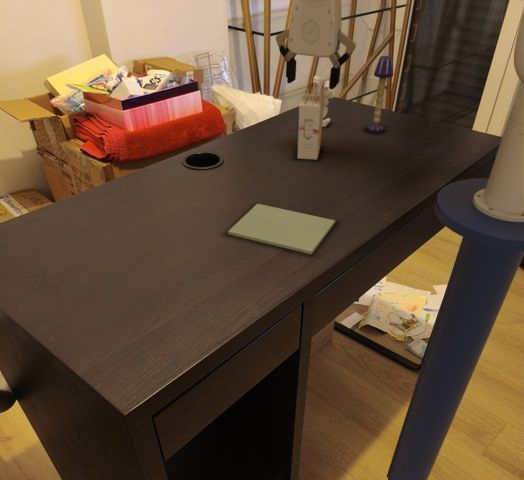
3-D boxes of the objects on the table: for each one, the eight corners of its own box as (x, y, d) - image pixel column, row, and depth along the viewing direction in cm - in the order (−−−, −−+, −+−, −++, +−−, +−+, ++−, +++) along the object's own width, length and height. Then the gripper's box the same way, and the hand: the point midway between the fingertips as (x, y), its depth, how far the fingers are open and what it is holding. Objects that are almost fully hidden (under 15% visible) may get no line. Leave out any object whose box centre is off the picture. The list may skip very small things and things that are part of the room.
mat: (335, 223, 88) (335, 220, 88) (311, 254, 80) (311, 251, 80) (257, 206, 93) (257, 203, 93) (228, 234, 85) (227, 231, 85)
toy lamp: (363, 127, 126) (373, 55, 115) (379, 126, 127) (391, 54, 115) (370, 134, 123) (381, 59, 111) (387, 132, 123) (399, 58, 112)
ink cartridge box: (300, 145, 117) (304, 78, 107) (320, 146, 116) (326, 79, 106) (296, 159, 111) (299, 88, 101) (317, 160, 110) (322, 90, 100)
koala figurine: (319, 132, 123) (323, 80, 115) (297, 127, 127) (300, 76, 118) (336, 123, 128) (341, 73, 120) (315, 118, 131) (319, 69, 123)
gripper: (270, -15, 92) (268, 83, 104) (356, -8, 87) (344, 94, 98) (285, -19, 97) (282, 75, 109) (368, -13, 92) (355, 85, 103)
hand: (311, 84), depth 104 cm, fingers open, 9 cm apart
